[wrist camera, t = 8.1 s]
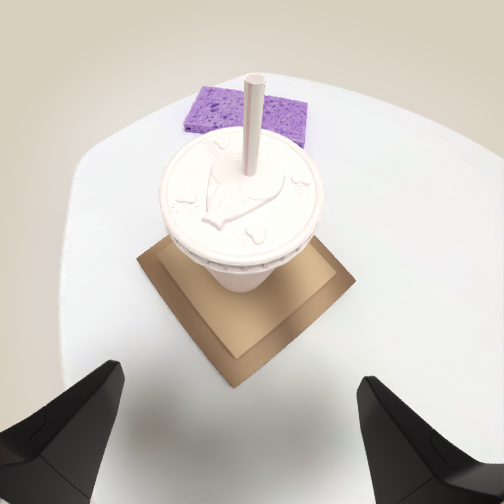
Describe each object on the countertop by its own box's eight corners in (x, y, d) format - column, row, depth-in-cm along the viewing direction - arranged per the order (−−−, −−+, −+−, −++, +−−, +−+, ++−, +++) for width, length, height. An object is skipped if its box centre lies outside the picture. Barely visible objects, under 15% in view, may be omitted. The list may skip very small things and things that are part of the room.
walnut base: (234, 386, 19) (233, 391, 16) (142, 265, 22) (129, 251, 19) (349, 285, 22) (363, 275, 19) (254, 185, 25) (256, 164, 22)
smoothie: (303, 250, 20) (388, 84, 7) (258, 331, 18) (311, 253, 5) (224, 209, 21) (213, 26, 8) (175, 281, 19) (71, 132, 6)
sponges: (203, 97, 31) (202, 85, 29) (307, 113, 30) (310, 101, 28) (184, 135, 28) (181, 123, 26) (302, 154, 28) (305, 142, 26)
